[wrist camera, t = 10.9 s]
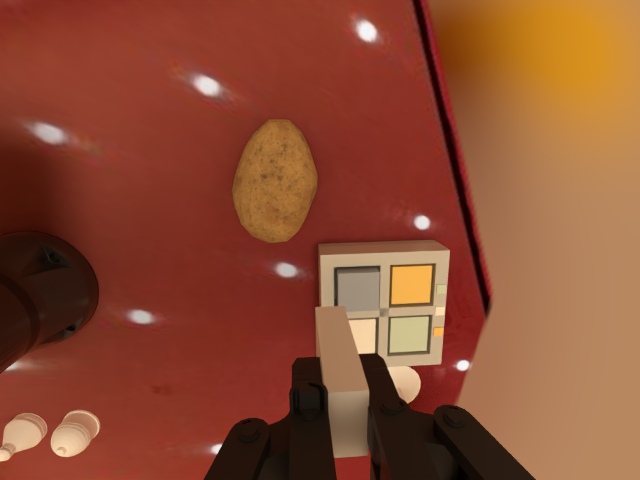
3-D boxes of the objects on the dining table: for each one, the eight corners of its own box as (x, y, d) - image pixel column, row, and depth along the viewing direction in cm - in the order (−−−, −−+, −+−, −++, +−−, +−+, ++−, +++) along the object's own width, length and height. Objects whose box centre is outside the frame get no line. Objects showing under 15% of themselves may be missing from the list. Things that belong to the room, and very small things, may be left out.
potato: (323, 127, 44) (329, 124, 36) (307, 236, 47) (309, 254, 40) (244, 115, 43) (233, 108, 35) (234, 226, 46) (221, 243, 39)
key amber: (386, 295, 48) (391, 304, 45) (387, 260, 47) (392, 267, 44) (422, 294, 48) (429, 302, 46) (424, 259, 47) (432, 265, 44)
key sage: (385, 342, 50) (389, 352, 47) (386, 309, 48) (390, 318, 46) (420, 340, 50) (426, 350, 47) (422, 307, 49) (428, 316, 46)
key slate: (336, 303, 46) (338, 312, 43) (335, 266, 45) (338, 273, 42) (374, 301, 46) (378, 310, 44) (375, 265, 45) (379, 272, 42)
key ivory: (335, 344, 49) (337, 355, 47) (334, 311, 48) (337, 320, 45) (370, 342, 50) (374, 353, 47) (371, 310, 48) (375, 319, 46)
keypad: (320, 348, 52) (322, 371, 47) (317, 243, 48) (320, 255, 42) (427, 343, 53) (441, 365, 47) (434, 239, 49) (450, 251, 43)
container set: (-36, 444, 53) (-73, 477, 47) (-46, 414, 51) (-85, 445, 46) (103, 436, 54) (82, 468, 48) (97, 407, 52) (75, 436, 47)
